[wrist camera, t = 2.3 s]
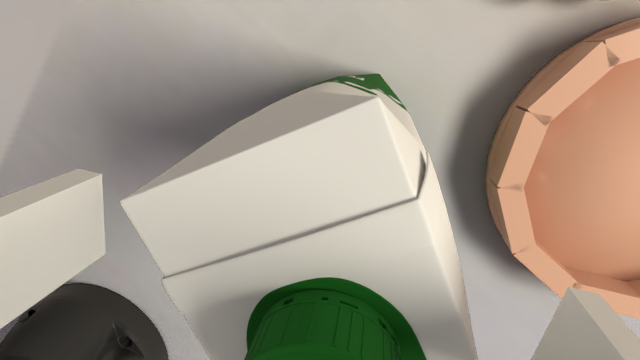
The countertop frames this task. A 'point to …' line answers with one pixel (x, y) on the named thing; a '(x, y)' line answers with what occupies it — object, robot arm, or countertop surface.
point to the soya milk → (311, 234)
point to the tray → (575, 170)
